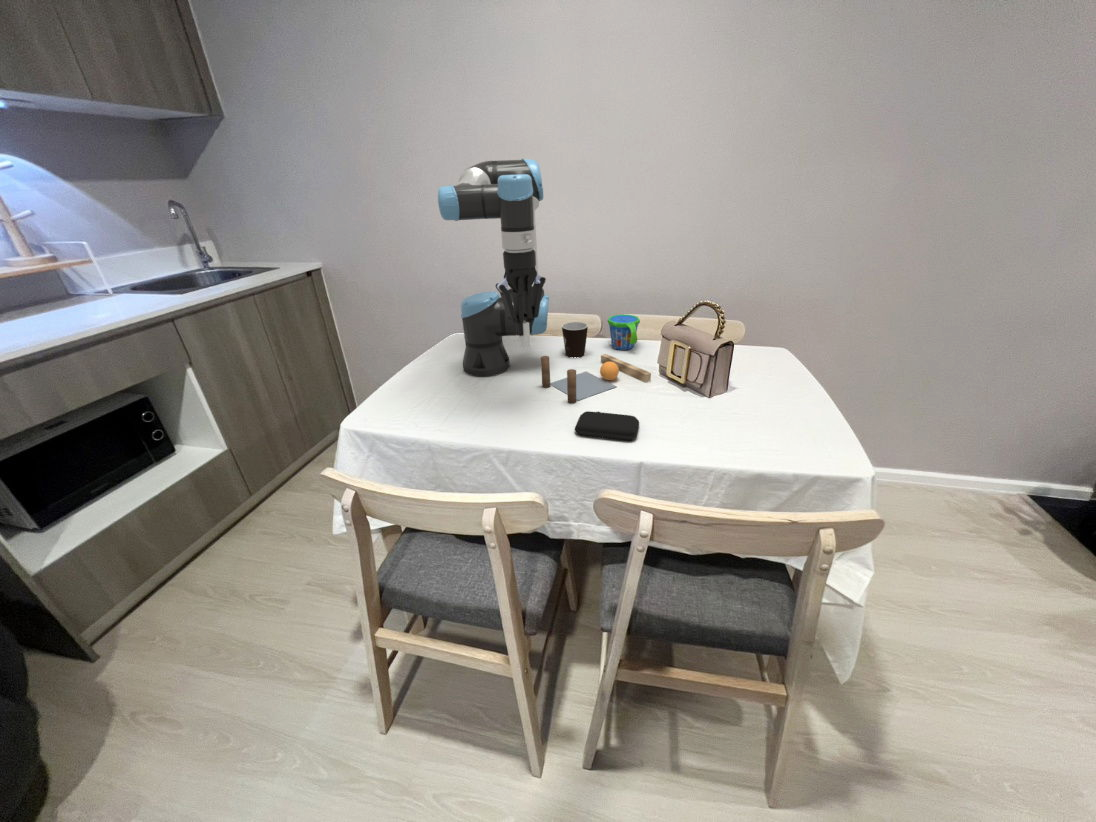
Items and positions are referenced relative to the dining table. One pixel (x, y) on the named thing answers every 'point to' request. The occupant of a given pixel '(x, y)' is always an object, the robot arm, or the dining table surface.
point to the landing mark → (585, 385)
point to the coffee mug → (574, 338)
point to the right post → (571, 385)
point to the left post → (545, 371)
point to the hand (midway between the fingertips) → (525, 346)
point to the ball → (609, 370)
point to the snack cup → (623, 331)
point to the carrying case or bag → (607, 426)
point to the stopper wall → (628, 368)
